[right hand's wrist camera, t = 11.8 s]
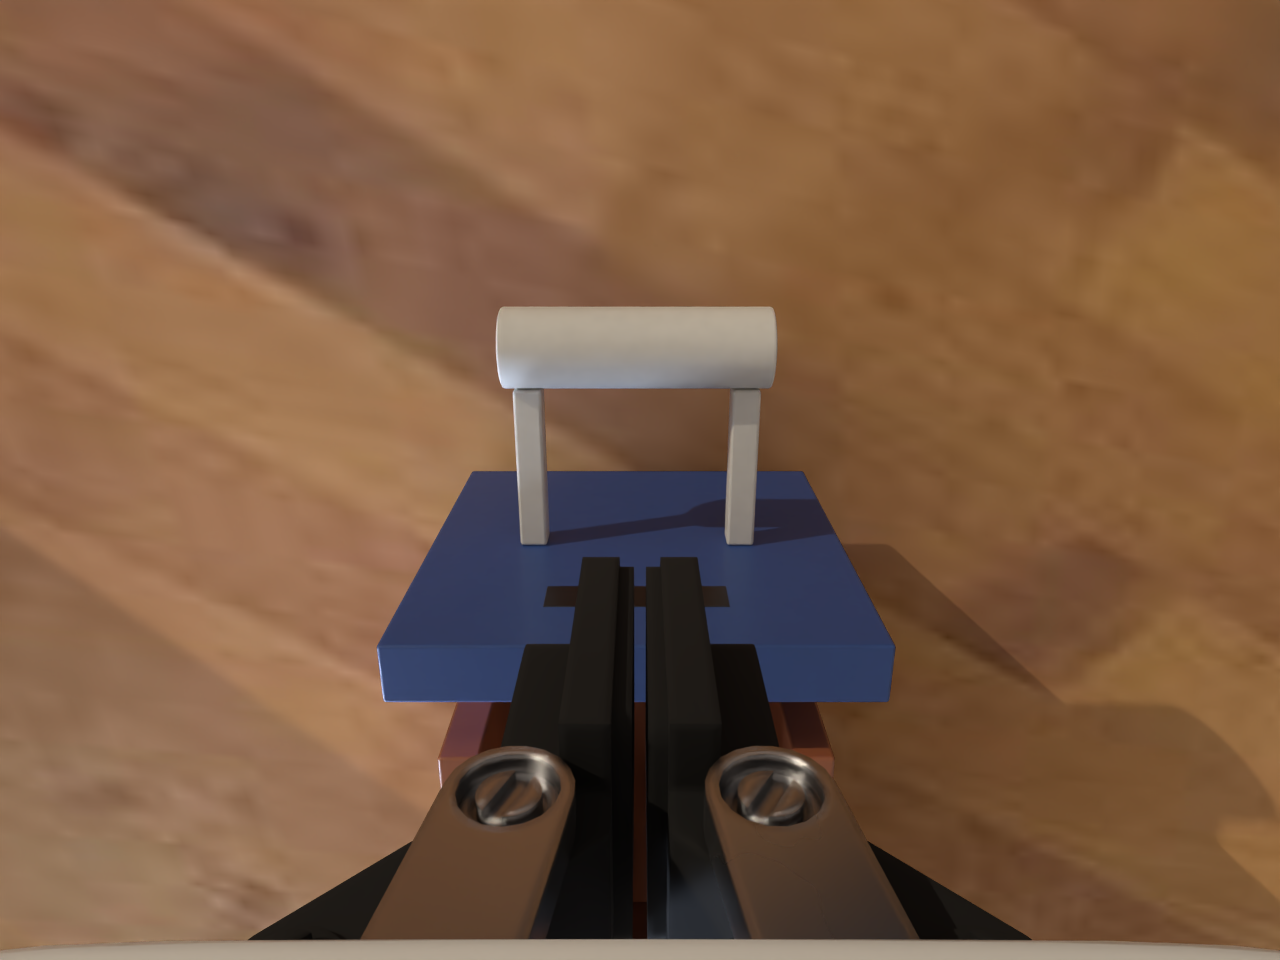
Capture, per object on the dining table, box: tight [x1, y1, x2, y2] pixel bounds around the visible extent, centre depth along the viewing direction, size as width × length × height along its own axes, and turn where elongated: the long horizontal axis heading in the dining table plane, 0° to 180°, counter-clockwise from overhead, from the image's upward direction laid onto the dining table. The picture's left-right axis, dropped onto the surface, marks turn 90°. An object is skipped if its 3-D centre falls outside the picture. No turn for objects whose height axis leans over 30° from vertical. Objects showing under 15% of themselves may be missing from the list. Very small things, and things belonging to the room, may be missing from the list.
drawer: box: [377, 307, 896, 939], centre depth 21 cm, size 20×9×9 cm, turn 0°
